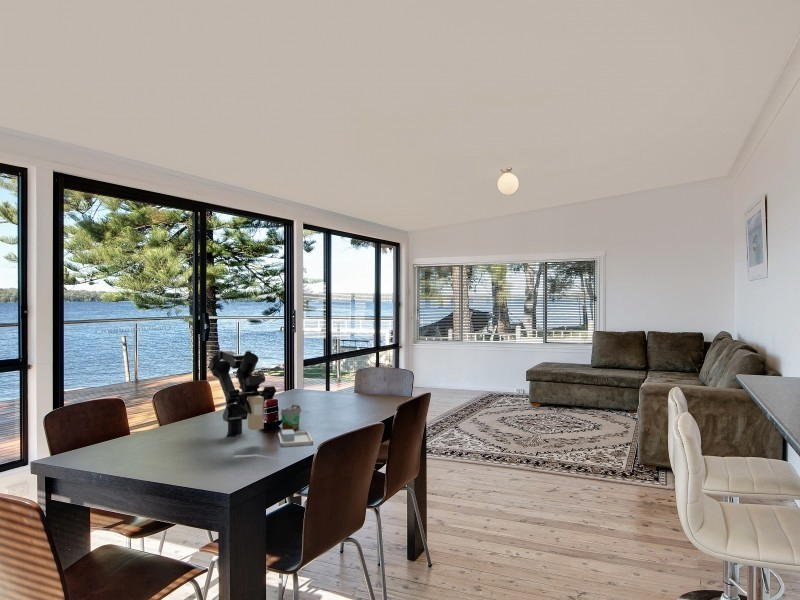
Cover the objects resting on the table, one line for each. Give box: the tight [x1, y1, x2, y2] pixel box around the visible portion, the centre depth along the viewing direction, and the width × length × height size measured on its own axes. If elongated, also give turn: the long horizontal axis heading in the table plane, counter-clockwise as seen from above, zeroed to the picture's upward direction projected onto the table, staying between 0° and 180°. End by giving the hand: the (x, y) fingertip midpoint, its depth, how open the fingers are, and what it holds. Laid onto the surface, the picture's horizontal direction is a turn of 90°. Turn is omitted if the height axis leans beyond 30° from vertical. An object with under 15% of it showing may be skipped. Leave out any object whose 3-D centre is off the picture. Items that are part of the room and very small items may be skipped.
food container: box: [280, 404, 302, 431], centre depth 243 cm, size 12×6×10 cm, turn 168°
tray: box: [277, 430, 314, 448], centre depth 224 cm, size 18×12×2 cm, turn 15°
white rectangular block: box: [281, 429, 295, 441], centre depth 226 cm, size 8×4×2 cm, turn 15°
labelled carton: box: [247, 396, 265, 431], centre depth 218 cm, size 5×4×12 cm
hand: (257, 412), depth 217 cm, fingers closed on labelled carton, 4 cm apart
